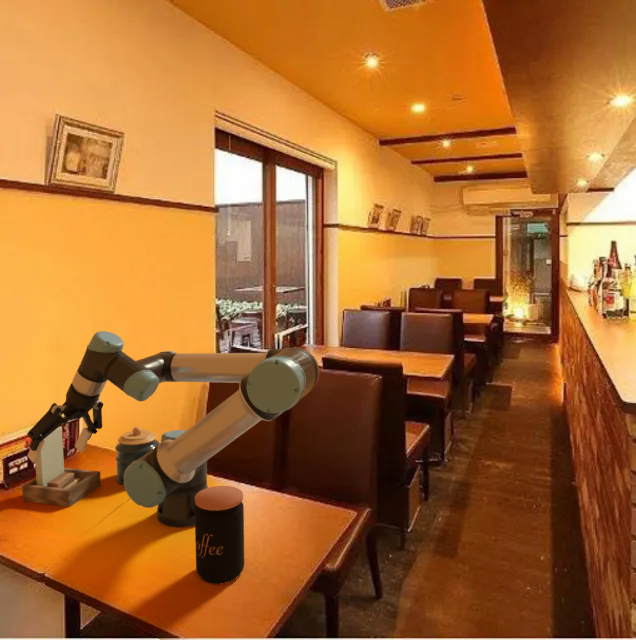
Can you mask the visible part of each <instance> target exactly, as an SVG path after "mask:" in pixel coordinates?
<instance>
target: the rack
mask: <svg viewBox="0 0 636 640" xmlns="http://www.w3.org/2000/svg"><path fill="white" fill-rule="evenodd" d="M64 472H67V473H74V478H78V479H80V482H78V483H77V484H75V485H74V486H72V487H70V488H69V489H64V488H56V487H47V486H39V485H37V479H36V477H35V478H34V479H32V480H30V481H28V482H27V483H24V484H23V485H21V486H22V501H23V502H28V503H34V504H43V505H52V506H59V507H67V508H71V507H72V506H73V505H75V504H76V503H78V502H80V501H81V500H83V499H84V498H85V497H87V496H88V495H89V494H91V493H93V492H94V491H96V490H97V489H98V488H100V487H101V486H102V482H101V481H102V480H101V471H98V470H90V469H80V468H71V467H64Z"/></svg>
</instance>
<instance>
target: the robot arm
mask: <svg viewBox="0 0 636 640" xmlns="http://www.w3.org/2000/svg"><path fill="white" fill-rule="evenodd" d="M90 339H91V340H90V342H89V343H88V344H87V346H86V349H85V352H84V354H83V356H82V359H81V362H80V363H79V366H78V368H77V370H76V372H75V374H74V376H73V379H72V381H71V383H70V385H69V387H68V389H67V392H66V394H65V402H64V403H63V404H60V405H59V404H57V403H55V402H54V403H52V404H51V405H50V407H49V409H48V411H47V412H46V413H45V414H44V415H43V416H42V417H41V418H40V419H39V420H38V421H37V422H36V423H35V424H34V425H33V427H31V429H30V430H29V431H28V432H27V434H26V435H27V436H28V438H30V440H31V441H30V445H29V452H28V453H27V457H28V458H29V460H30V461H31V463H35V462H36V460H37V458H38V456H39V453H40V451H41V449H42V447H43V445H44V442H45V441H44V440H43V439H45V438H46V437H47V436H48V435H50V434H51V433H52V432H53V431H55V430H56V429H57V428H58V427H60V426H62V425H65V424H67V423H68V422H69V421H73V420H80V419H81V418H82V420H83V422H84V424H85V425H86V426H84V427H83V428H82V429H81V432H80V433H79V436H78V438H77V441H76V442H75V445H74V447H75V449H76V450H78V452H79V453H83V451H85V448H86V445H87V444H88V441H89V440H90V439H91V438H92V435H93V434H95V435H96V434H97V433H98V430H101V429H102V428H103V413H102V409H103V407H104V403H103V402H102V400H101V399H100V396H101V393H103V390H104V388H105V386H106V384H107V381H109V382H110V383H111V384H112V385H114V386H116V387H117V388H118V389H119V390H120V391H122V392H123V393H124V394H125V395H126V396H128V397H130V398H132V399H134V400H136V401H138V402H145V401H147V400H148V399H149V398H150V397H152V396H153V395H154V393H155V392H156V390H157V389H158V387H159V384H162V383H165V382H167V383H169V382H170V383H178V382H179V383H182V382H183V383H184V382H185V383H225V384H226V383H228V384H230V383H232V384H233V383H237V384H238V385H239V387H238V390H237V391H236V392H234V393H233V394H232V395H230V396H229V397H228V398H226V399H225V400H224V401H223V402H221V403H220V404H219V405H218V406H216V407H214V409H212V410H211V411H210V412H209V413H206V415H204V416H203V417H202V418H201V419H199V420H198V421H196V422H195V423H194V424H193V425H192V426H191V427H189V428H188V429H177V430H171V431H170V430H169V431H167V432H163V434H161V439H160V442H159V444H158V445H157V446H156V447H155V448H153V449H152V450H151V451H149V452H148V453H147V454H145V455H144V456H143V457H141V458H140V459H138V460H135V461H133V462H132V463H131V464H130V465H129V466H128V467H127V469H126V470H125V473H124V485H123V487H124V490H125V492H126V493H127V496H128V497H129V498H130V499H131V500H132V502H133V503H134V504H136V505H138V506H142V507H143V508H147V509H150V508H151V509H152V508H154V507H156V506H157V508H156V515H157V516H156V518H157V521H158V522H159V523H160V524H162V525H164V526H167V527H171V528H186V527H187V528H189V527H193V526H194V527H195V507H196V504H195V496H196V494H197V493H198V492H199V491H201V490H203V489H206V488H209V486H208V460H209V459H211V458H212V457H213V456H215V455H216V454H217V453H219V452H221V450H223V449H224V448H225V447H227V446H228V445H229V444H231V443H233V441H235V440H236V439H238V438H239V437H240V436H242V435H243V434H245V433H246V432H247V431H248V430H250V429H251V428H253V427H255V426H256V425H257V424H258V423H259V422H260V421H266V422H271V421H273V420H275V419H276V418H277V417H279V416H280V415H282V414H283V413H284V412H286V411H288V410H290V409H292V408H294V406H296V404H298V403H299V401H300V400H301V399H303V398H304V397H305V396H307V394H309V393H310V392H311V391H312V390H314V388H315V387H316V386H317V383H318V381H319V378H320V368H319V367H320V366H319V364H318V361H317V359H316V357H314V355H313V354H312V353H311V352H309V351H308V350H306V349H304V348H300V347H288V348H287V347H286V348H285V347H284V348H270V349H268V350H267V351H266V352H228V353H227V352H217V353H216V352H213V353H211V352H210V353H209V352H207V353H205V352H200V353H199V352H198V353H197V352H196V353H195V352H193V353H191V352H189V353H188V352H187V353H182V352H181V353H179V352H175V351H173V350H166V351H160V352H158V353H155V354H153V355H149V356H146V357H143V358H140V359H137V360H135V359H134V358H132V357H130V355H128V354H126V353H125V352H124V351H123V349H124V348H123V347H124V345H125V343H124V340H123V339H122V338H121V337H120V336H119V335H117V334H116V333H113V332H111V331H105V330H102V331H101V330H100V331H97V332H95V333H94V334H93V336H92V337H91V338H90ZM91 410H92V419H91V415H90V413H89V412H90V411H91ZM62 415H63V416H64V417H63V416H62ZM40 435H41V436H40Z"/></svg>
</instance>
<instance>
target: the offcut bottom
mask: <svg viewBox="0 0 636 640" xmlns="http://www.w3.org/2000/svg"><path fill="white" fill-rule="evenodd" d="M78 482H80V479H78V478H74V482H73V483H71V484H70V485H68V486H67V487H65V488H64V489H69V488H70V487H72V486H74V485H75V484H77V483H78Z"/></svg>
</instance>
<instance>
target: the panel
mask: <svg viewBox="0 0 636 640" xmlns="http://www.w3.org/2000/svg"><path fill="white" fill-rule="evenodd" d="M40 436H41V435H40ZM43 440H44V441H45V442H44V445H43V447H42V449H41V451H40V453H39V456H38V458H37V460H36V462H34V463H35V474H36V476H35V478H36V479H37V485H39V486H47V483H48V482H49V481H51V480H52V479H54V478H55V477H57V476H58V475H60V474H62V473H63V472H64V468H65V462H64V445H63V444H64V443H63V428H62V427H60V426H59V427H58V428H57V429H56V430H55V431H53V432H52V433H51V434H50V435H48V436H47V437H46V438H45V439H43Z"/></svg>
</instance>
